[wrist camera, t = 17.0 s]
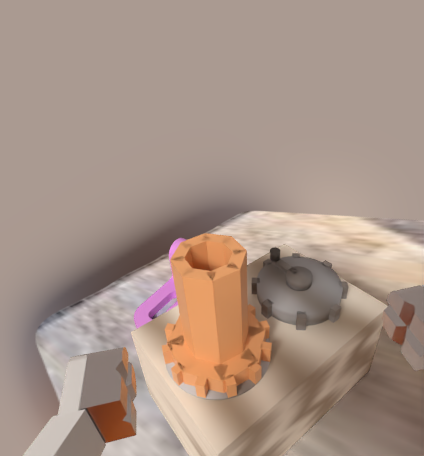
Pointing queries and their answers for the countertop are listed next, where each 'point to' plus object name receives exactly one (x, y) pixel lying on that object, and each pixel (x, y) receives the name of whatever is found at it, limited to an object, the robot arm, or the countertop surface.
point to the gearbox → (273, 360)
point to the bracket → (158, 296)
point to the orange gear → (214, 318)
